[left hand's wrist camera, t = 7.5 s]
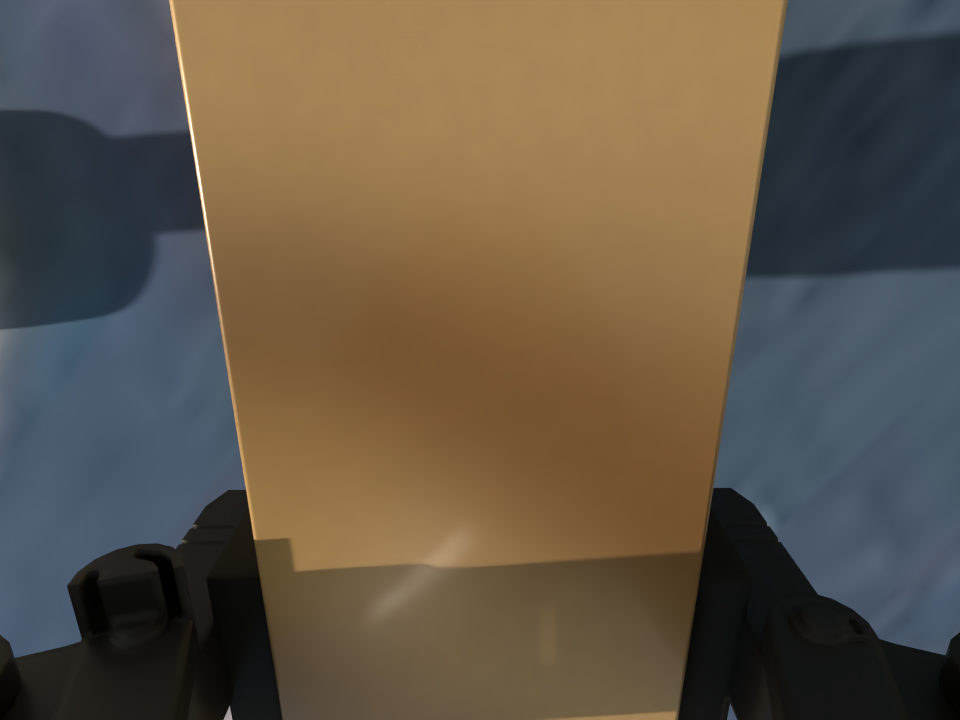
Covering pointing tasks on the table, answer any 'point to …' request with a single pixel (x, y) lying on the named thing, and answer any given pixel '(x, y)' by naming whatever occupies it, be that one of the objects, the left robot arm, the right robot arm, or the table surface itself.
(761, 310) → the table surface
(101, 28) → the table surface
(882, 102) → the table surface
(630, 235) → the board
